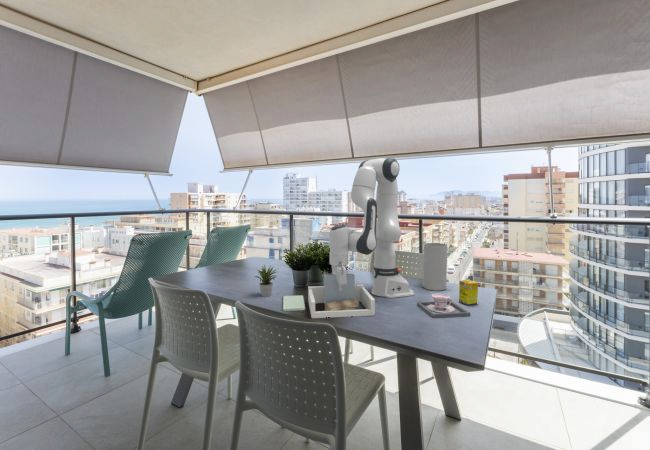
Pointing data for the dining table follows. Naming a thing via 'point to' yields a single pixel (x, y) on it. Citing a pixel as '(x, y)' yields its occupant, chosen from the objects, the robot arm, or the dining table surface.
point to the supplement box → (468, 292)
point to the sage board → (293, 303)
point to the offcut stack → (341, 305)
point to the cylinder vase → (435, 266)
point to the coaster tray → (441, 315)
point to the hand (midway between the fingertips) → (339, 289)
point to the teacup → (441, 304)
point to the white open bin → (360, 296)
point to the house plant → (266, 281)
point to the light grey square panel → (332, 289)
